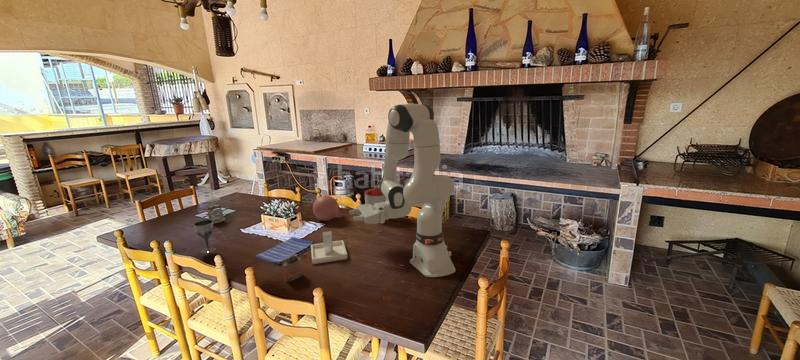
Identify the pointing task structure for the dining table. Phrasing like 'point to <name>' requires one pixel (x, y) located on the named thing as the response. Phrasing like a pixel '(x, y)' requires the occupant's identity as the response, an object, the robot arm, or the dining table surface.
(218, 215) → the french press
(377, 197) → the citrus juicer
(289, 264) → the lighter
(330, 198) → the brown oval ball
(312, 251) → the tray
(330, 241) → the block
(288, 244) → the dish towel
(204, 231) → the wine glass
